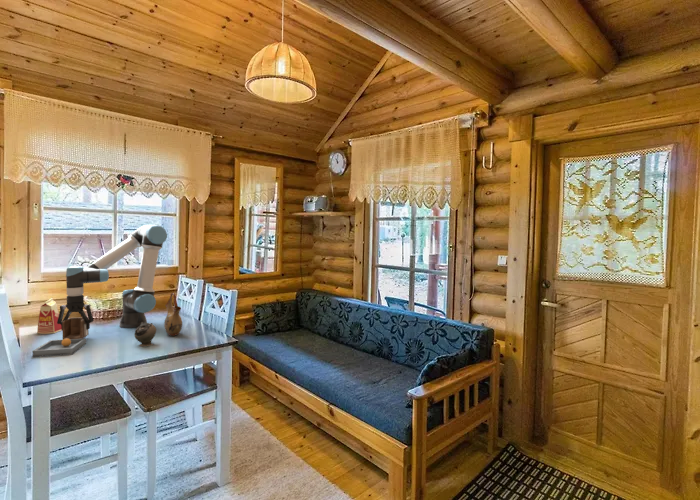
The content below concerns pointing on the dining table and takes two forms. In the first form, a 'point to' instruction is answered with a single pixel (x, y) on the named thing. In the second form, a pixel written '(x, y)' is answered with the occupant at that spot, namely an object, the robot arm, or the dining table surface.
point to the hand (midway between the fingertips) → (75, 335)
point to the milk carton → (48, 318)
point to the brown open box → (73, 328)
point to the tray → (59, 348)
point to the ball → (66, 342)
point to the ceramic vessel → (173, 317)
